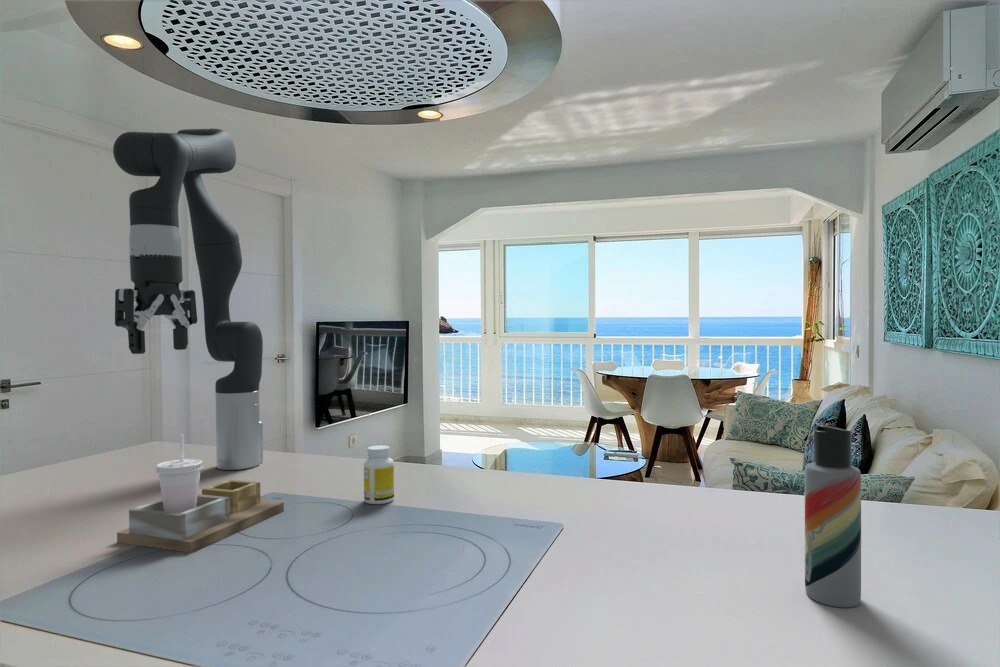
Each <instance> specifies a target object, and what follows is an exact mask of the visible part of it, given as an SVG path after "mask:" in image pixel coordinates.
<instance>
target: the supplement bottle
mask: <svg viewBox="0 0 1000 667" xmlns="http://www.w3.org/2000/svg"><path fill="white" fill-rule="evenodd" d="M390 448H391V447H390V446H389V445H385V444H384V445H371V446H369V447H367V451H366V452H367V456H368V458H367V459H366V460H365V461H364V463H363V498H364V499H363V500H364V502H365V503H366V504H369V505H385V504H387V503H388V504H389V503H391V502H392V501H394V499H395V464H394V460H393V458H390V457H389V456H390V454H391V453H390V452H391V449H390Z"/></svg>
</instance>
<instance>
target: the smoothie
mask: <svg viewBox="0 0 1000 667" xmlns="http://www.w3.org/2000/svg"><path fill="white" fill-rule="evenodd" d="M184 441H185V435H184V433H180V434H179V459H173V460H168V461H162V462H160V463H158V464H156V466H155V473H156V474H158V475H157V476H158V479H159V487H160V493H161V499H162V501H163V507H164V511H166V512H174V513H182V512H185V511H187V510H190V509H193V508H195V507H196V504H197V496H198V494H199V485H200V480H201V479H200V477H201V469H203V468H204V465H203V462H204V461H203V460H202V459H198V458H185V442H184Z"/></svg>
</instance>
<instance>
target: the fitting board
mask: <svg viewBox="0 0 1000 667" xmlns="http://www.w3.org/2000/svg"><path fill="white" fill-rule="evenodd" d="M282 512H285V502H284V501H277V500H276V501H275V500H268V499H267V500H266V499H262V498H261V482H260V481H249V480H240V479H239V480H238V479H229V480H225V481H222V482H219V483H217V484H213V485H210V486H207V487H205V488H201V494H200V493H198V496H197V504H196V507H195V508H193V509H190V510H187V511H185V512H182V513H174V512H166V511H164V507H163V501H162V498H161V499H158V500H156V501H152V502H149V503H146V504H143V505H139V506H137V507H133V508H131V509H129V510H128V528H126V529H123V530H120V531H118V532H116V543H118V544H125V545H132V546H140V547H146V546H147V548H153V547H155V549H160V548H162V550H167V549H168V550H167V551H174V550H175V552H176V551H177V552H183V553H188V554H189V553H190V554H191V553H194V552H196V550H197V551H199V550H201V549H203V548H205V547H207V546H210V545H213V544H214V543H216V542H219V541H220V539H221V540H222V538H223V539H224V537H225V538H227V537H229V536H232V535H234V534H236V533H238V532H240V531H243V530H245V529H247V528H249V527H251V526H253V525H257V523H260V522H263V521H264V520H266V519H268V518H270V517H273V516H276V515H278V514H279V513H282ZM242 529H243V530H242ZM235 532H236V533H235ZM233 533H234V534H233ZM231 534H232V535H231Z"/></svg>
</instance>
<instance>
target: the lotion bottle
mask: <svg viewBox="0 0 1000 667" xmlns="http://www.w3.org/2000/svg"><path fill="white" fill-rule="evenodd" d="M861 474H862V473H861V470H860V469H859V468H858V467H855V466H853V465H852V431H851V430H847V429H844V428H841V427H836V426H832V425H828V424H827V425H826V424H824V425H823V424H817V425H816V426H815V427H814V428H813V462H809V463H806V464H805V466H804V586H805V587H804V589H805V593H806V595H807V597H809V598H811V599H812V600H814V601H815V602H818V603H820V604H823V605H826V606H830V607H837V608H853V607H856V606H859V605H860V603H861V600H862V598H861V597H862V475H861Z"/></svg>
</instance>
